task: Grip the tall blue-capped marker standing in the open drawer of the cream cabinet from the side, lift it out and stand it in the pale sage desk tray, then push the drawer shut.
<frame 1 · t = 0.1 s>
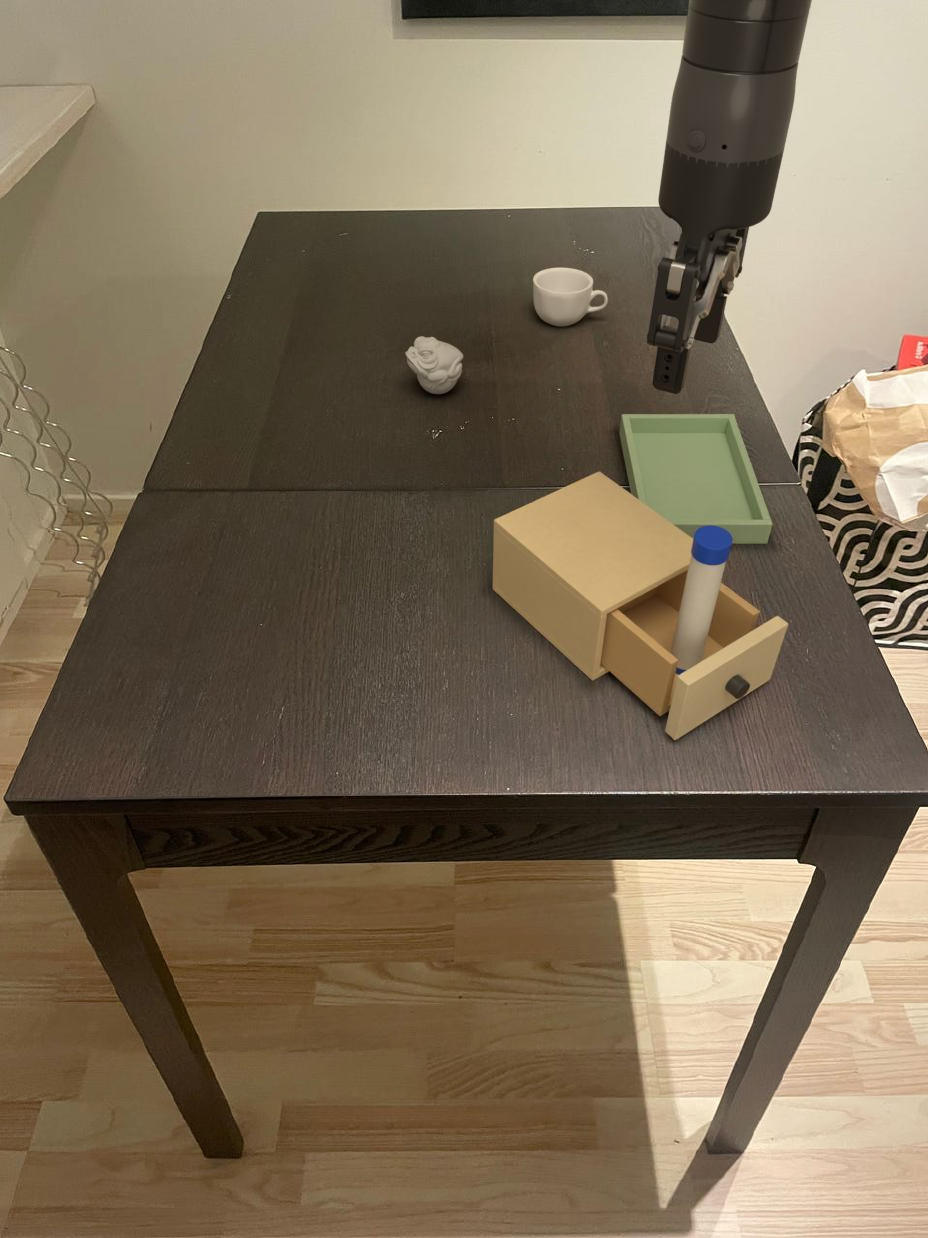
hand: (686, 363, 73), 24 cm above the table, tool pointing down, fingers open, 8 cm apart
tray: (688, 484, 102), on the table
cabinet: (591, 605, 89), on the table
marker: (684, 664, 81), point 2 cm above the table, touching drawer
teacup: (568, 320, 128), on the table
frog figurine: (436, 392, 115), on the table
drawer: (677, 637, 80), point 4 cm above the table, slide at 8.0 cm, touching marker
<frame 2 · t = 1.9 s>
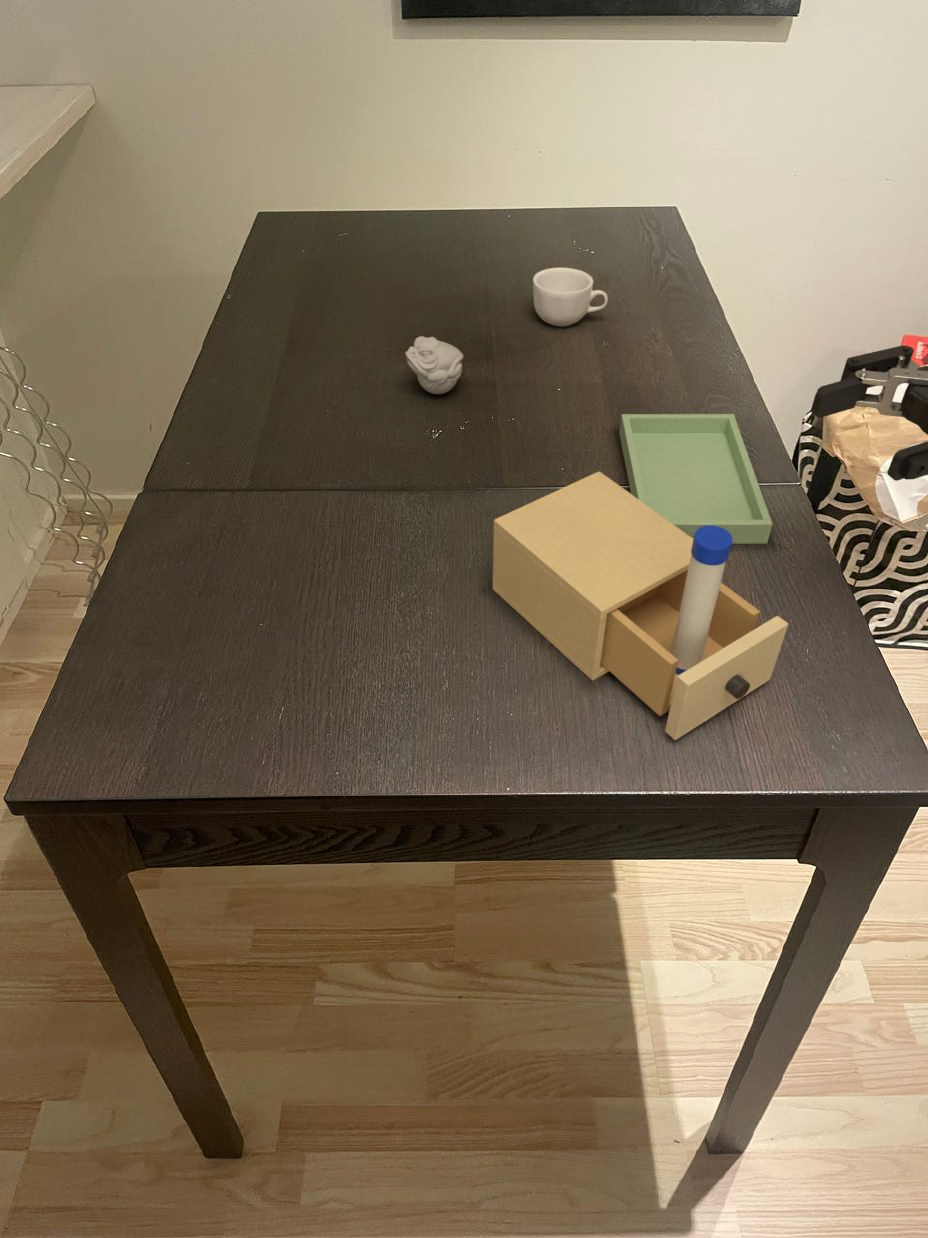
hand: (853, 434, 69), 22 cm above the table, tool horizontal, fingers open, 8 cm apart
nothing on the table moved.
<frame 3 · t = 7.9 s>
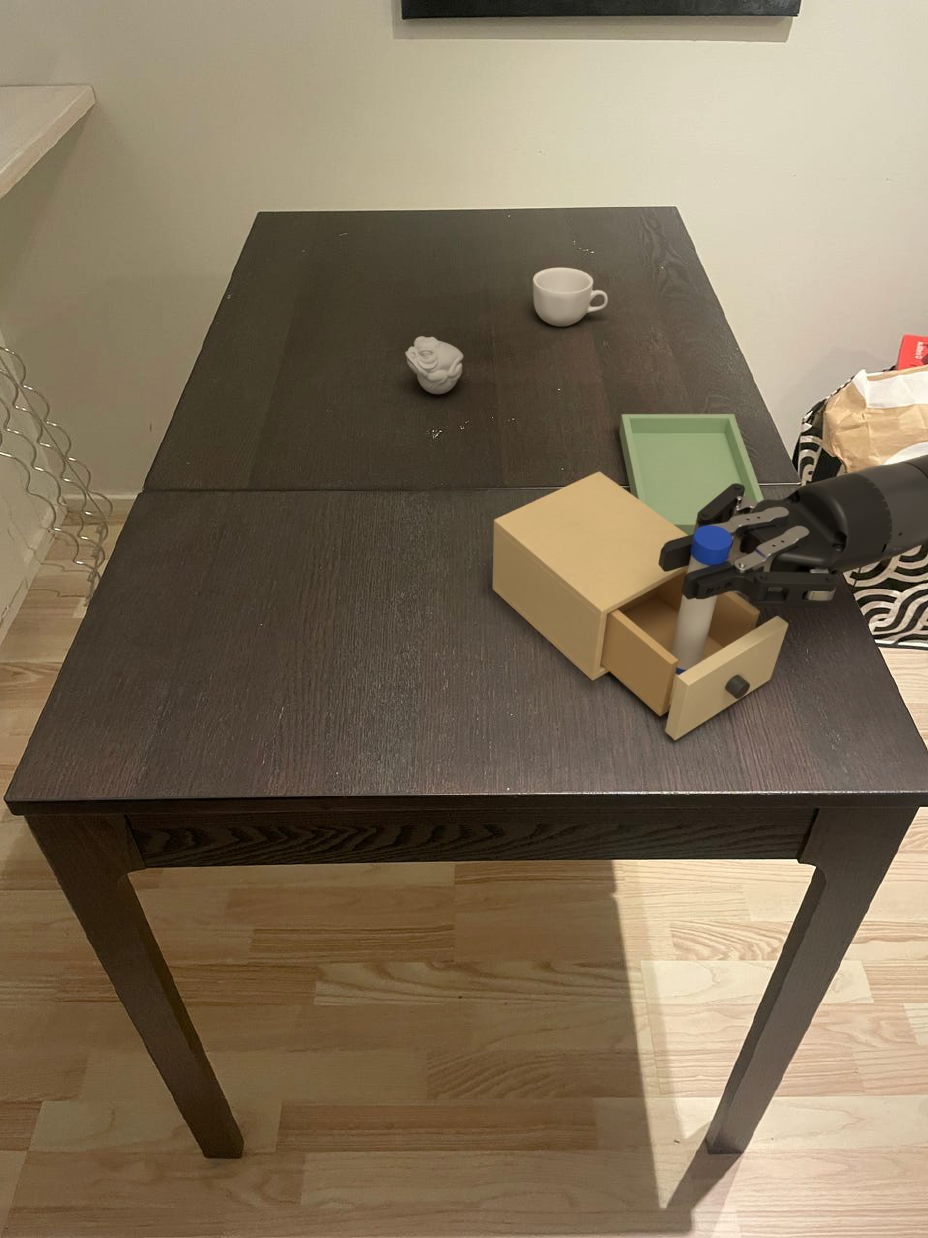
hand: (674, 573, 72), 13 cm above the table, tool horizontal, fingers closed on marker, 2 cm apart
marker: (684, 664, 81), point 2 cm above the table, touching drawer, gripper
everything else where it was.
when the fingers open (12 cm above the table, at t = 16.9 s): marker stays where it is, resting on tray.
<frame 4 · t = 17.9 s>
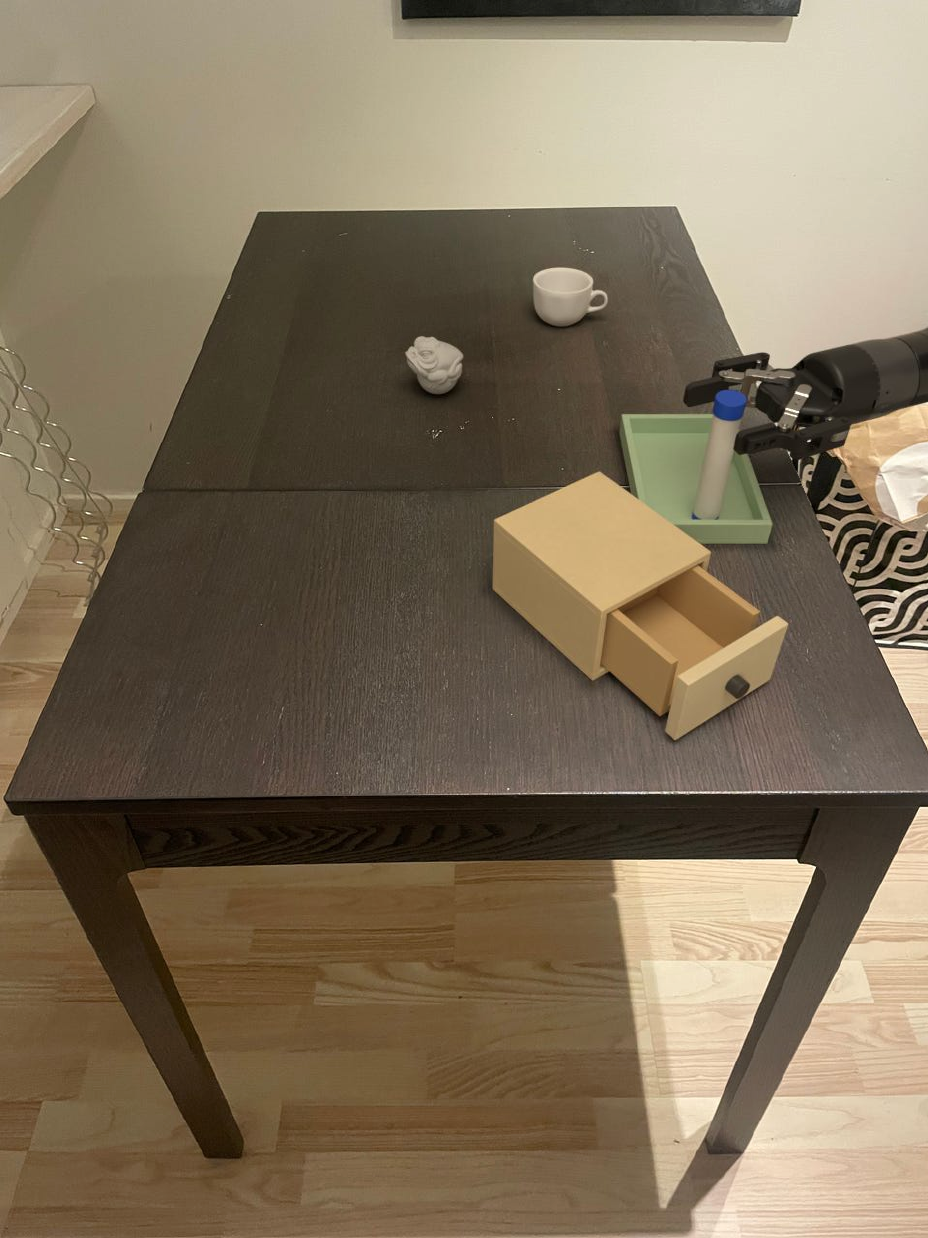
hand: (710, 419, 88), 13 cm above the table, tool horizontal, fingers open, 8 cm apart
marker: (704, 518, 97), resting on tray
drawer: (677, 637, 80), point 4 cm above the table, slide at 8.0 cm
everything else where it was.
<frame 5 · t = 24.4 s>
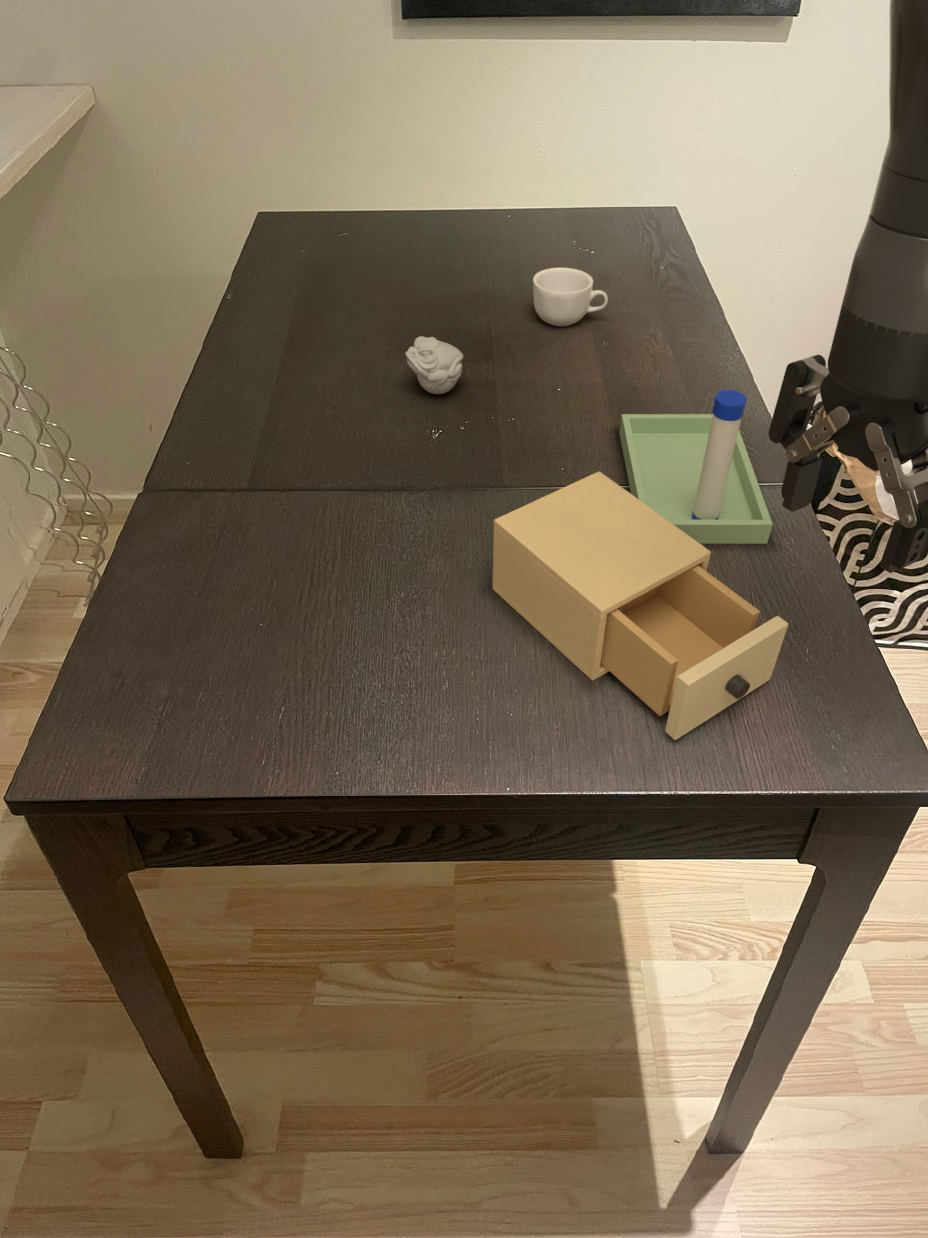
hand: (843, 535, 65), 19 cm above the table, tool pointing down, fingers open, 8 cm apart
nothing on the table moved.
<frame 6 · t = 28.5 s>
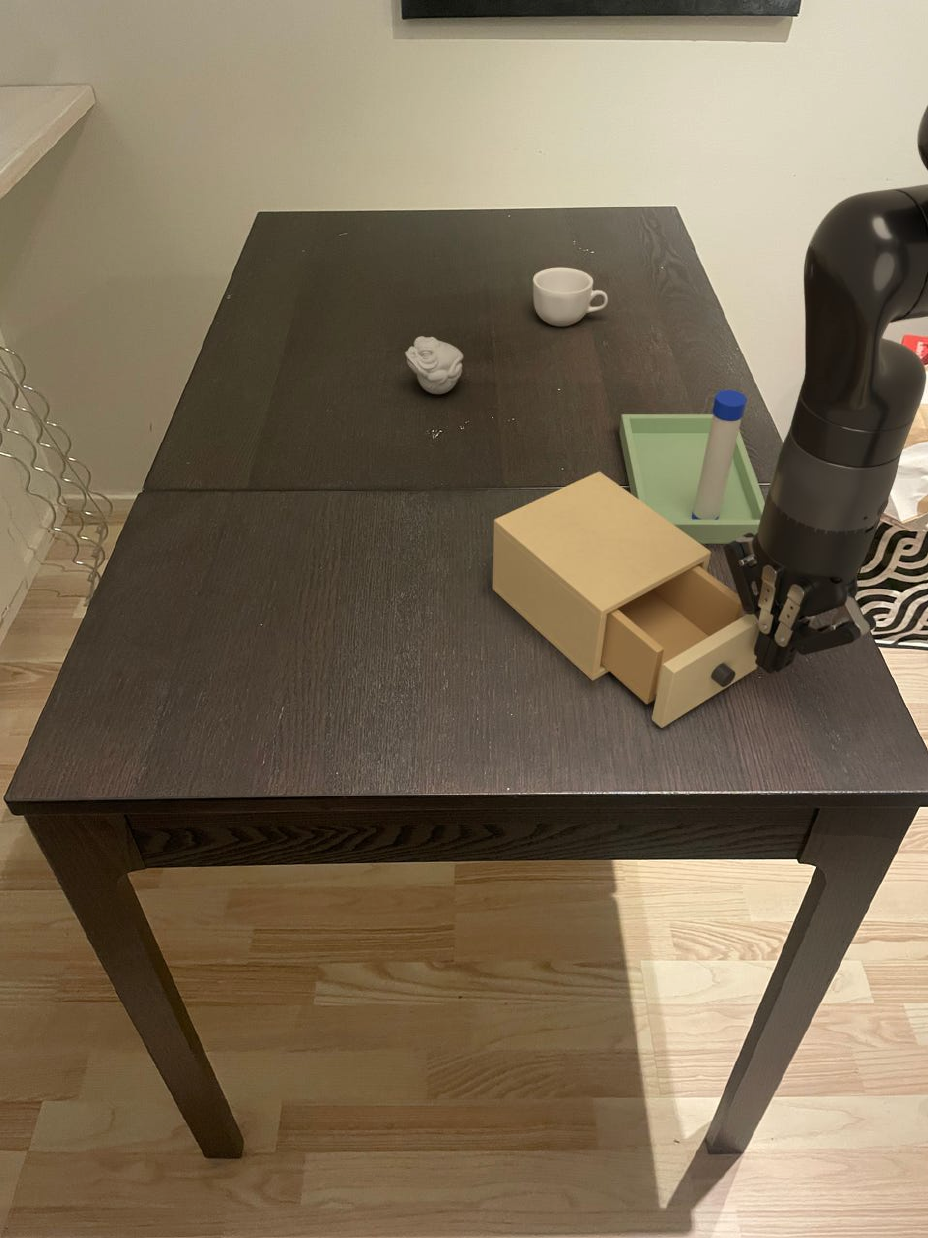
hand: (770, 665, 77), 5 cm above the table, tool pointing down, fingers closed
drawer: (664, 627, 81), point 4 cm above the table, slide at 6.5 cm, touching gripper
everything else where it was.
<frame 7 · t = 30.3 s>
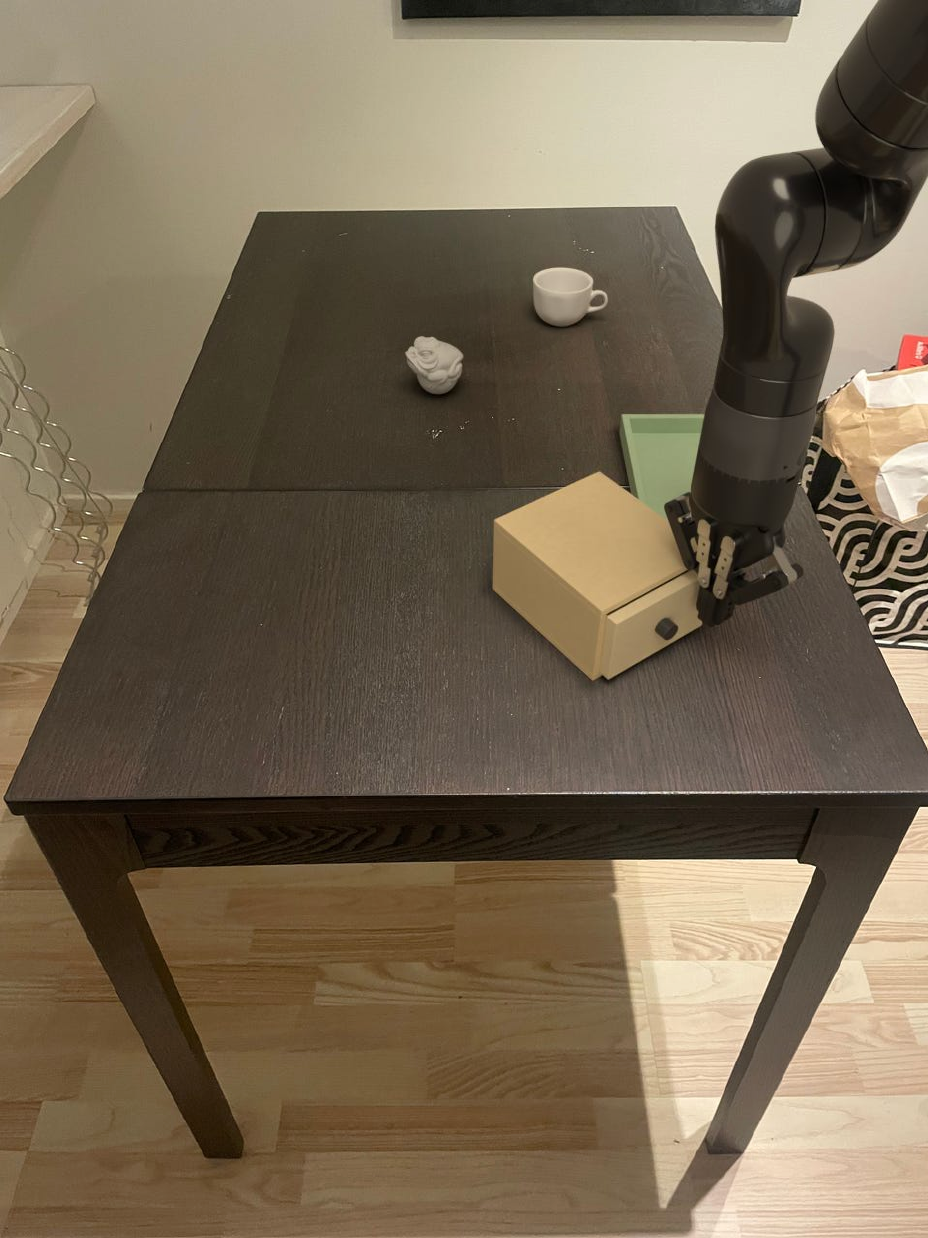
hand: (712, 619, 80), 5 cm above the table, tool pointing down, fingers closed
drawer: (613, 585, 84), point 4 cm above the table, slide at 0.0 cm, touching cabinet, gripper
everything else where it was.
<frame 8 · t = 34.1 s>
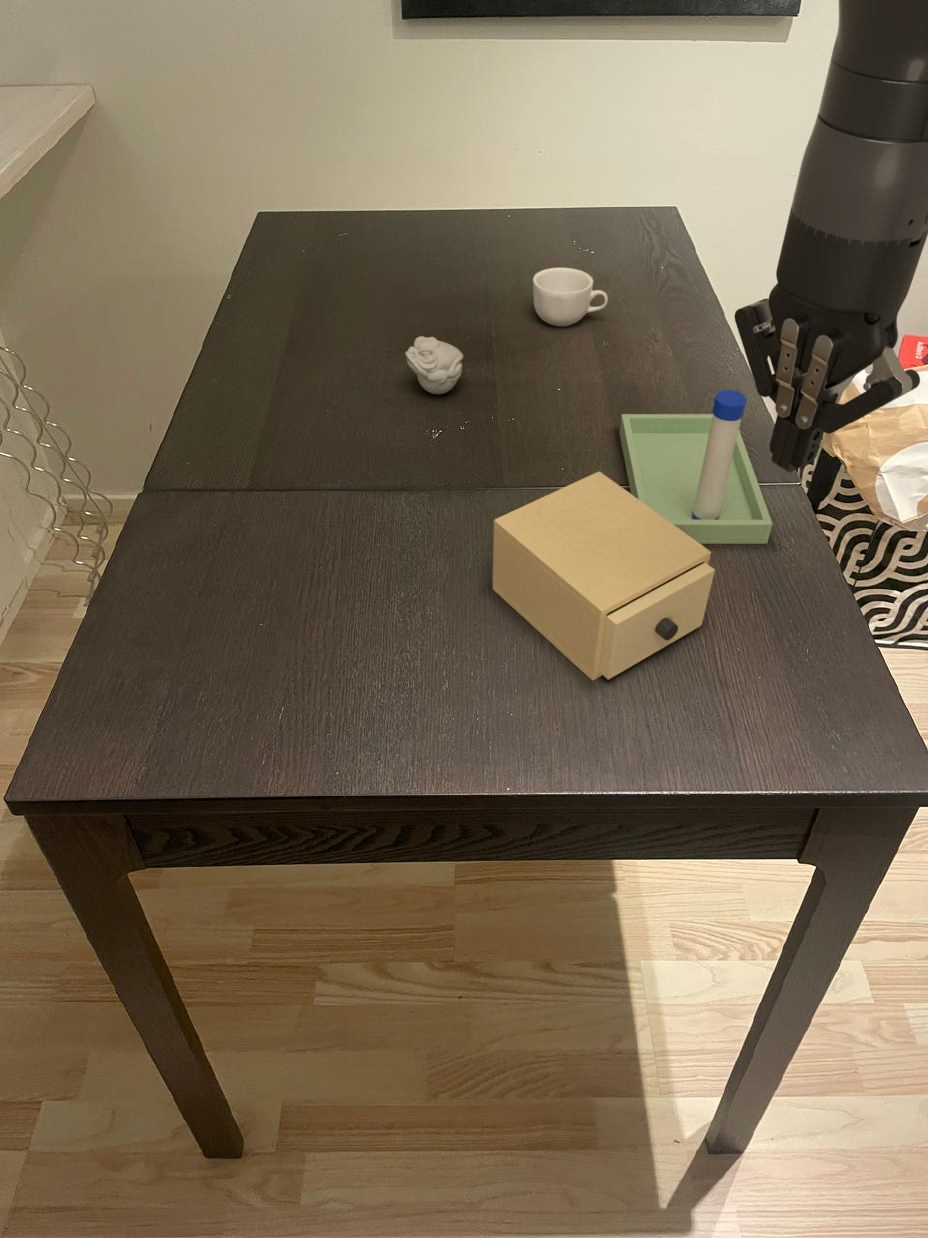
hand: (789, 463, 65), 23 cm above the table, tool pointing down, fingers closed
drawer: (613, 585, 84), point 4 cm above the table, slide at 0.0 cm, touching cabinet
everything else where it was.
at the end: marker inside the target area in the tray (0.5 cm from its centre), point 0.5 cm above the tray's base; drawer slide at 0.0 cm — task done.
